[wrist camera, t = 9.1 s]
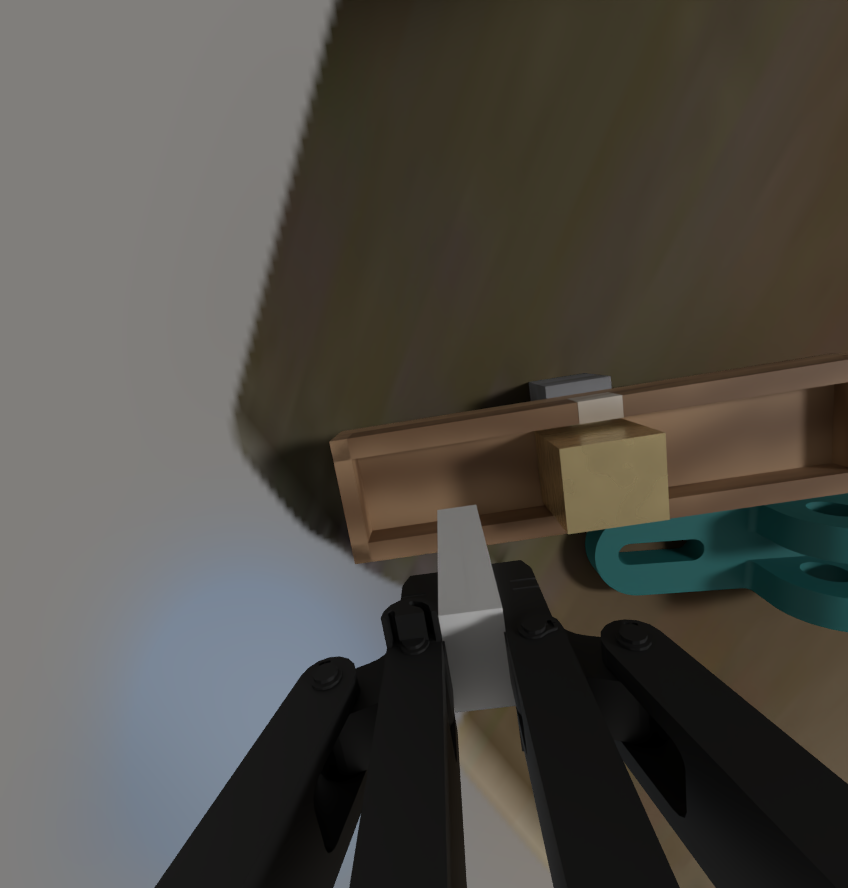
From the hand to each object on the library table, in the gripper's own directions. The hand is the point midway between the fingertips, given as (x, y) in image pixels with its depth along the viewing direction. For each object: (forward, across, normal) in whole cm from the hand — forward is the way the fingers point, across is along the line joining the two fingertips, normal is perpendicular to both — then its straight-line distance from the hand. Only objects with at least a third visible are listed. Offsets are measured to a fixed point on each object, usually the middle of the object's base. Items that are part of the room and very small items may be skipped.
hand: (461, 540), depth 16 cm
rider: (+10, +8, -1) cm, 12 cm away
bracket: (+16, +18, -10) cm, 27 cm away
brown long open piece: (+16, +8, -1) cm, 18 cm away
